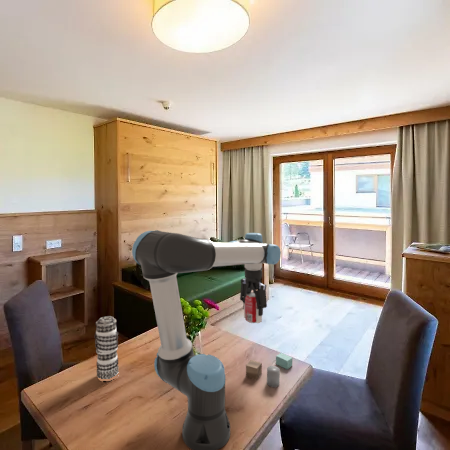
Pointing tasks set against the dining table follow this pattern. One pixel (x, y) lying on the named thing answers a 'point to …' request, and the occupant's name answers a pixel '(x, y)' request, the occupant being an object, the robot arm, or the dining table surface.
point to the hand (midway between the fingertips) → (252, 319)
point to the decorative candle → (106, 347)
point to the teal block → (284, 360)
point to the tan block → (253, 369)
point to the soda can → (250, 308)
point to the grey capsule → (273, 376)
